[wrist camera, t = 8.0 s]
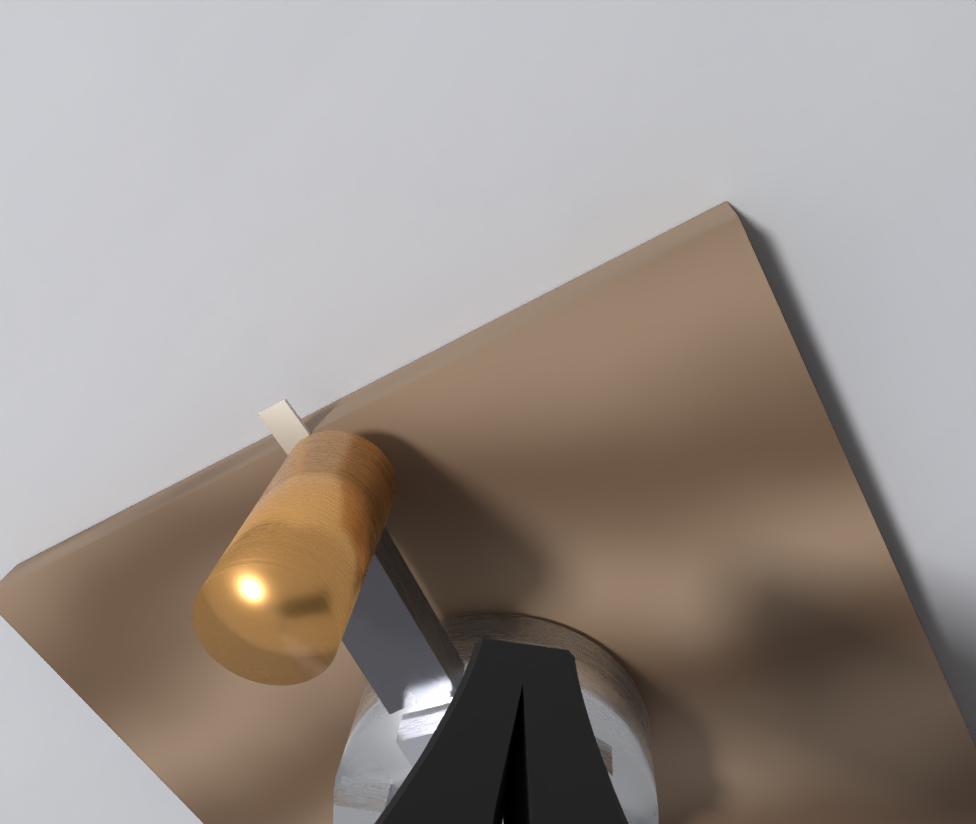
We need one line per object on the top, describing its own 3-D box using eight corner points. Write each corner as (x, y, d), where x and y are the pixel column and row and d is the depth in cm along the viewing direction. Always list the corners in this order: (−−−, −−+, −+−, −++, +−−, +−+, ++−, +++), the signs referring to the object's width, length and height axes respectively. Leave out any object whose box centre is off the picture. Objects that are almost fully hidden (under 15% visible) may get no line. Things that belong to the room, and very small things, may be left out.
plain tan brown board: (996, 800, 24) (1022, 849, 23) (383, 956, 31) (374, 1002, 29) (707, 158, 17) (719, 171, 16) (-8, 539, 24) (-45, 573, 22)
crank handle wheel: (690, 794, 23) (721, 1022, 18) (436, 847, 25) (399, 1065, 20) (479, 357, 18) (438, 499, 13) (182, 470, 20) (43, 633, 15)
